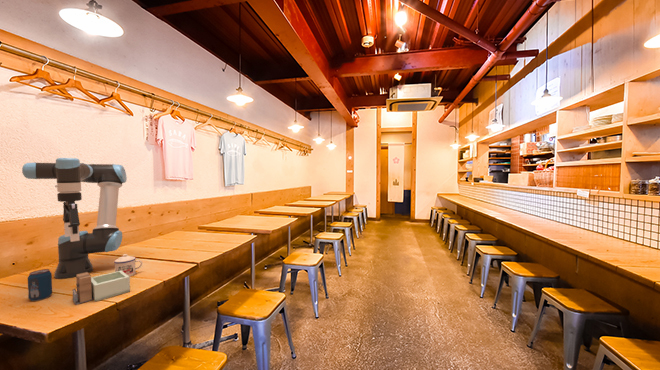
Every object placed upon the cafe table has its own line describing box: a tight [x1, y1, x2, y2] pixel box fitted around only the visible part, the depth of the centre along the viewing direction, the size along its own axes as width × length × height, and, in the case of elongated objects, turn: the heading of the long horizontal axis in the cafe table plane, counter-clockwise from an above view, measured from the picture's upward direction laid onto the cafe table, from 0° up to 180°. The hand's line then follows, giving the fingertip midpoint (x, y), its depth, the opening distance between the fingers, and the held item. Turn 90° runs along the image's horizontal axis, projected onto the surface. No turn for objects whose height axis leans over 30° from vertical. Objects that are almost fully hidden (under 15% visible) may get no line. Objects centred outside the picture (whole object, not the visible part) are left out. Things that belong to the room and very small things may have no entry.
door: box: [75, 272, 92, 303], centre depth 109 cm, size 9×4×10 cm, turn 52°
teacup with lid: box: [113, 253, 143, 278], centre depth 137 cm, size 12×9×12 cm
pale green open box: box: [91, 271, 131, 302], centre depth 116 cm, size 14×12×7 cm
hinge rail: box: [71, 288, 94, 306], centre depth 109 cm, size 8×6×5 cm
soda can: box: [27, 268, 53, 302], centre depth 111 cm, size 7×7×12 cm
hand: (72, 238), depth 113 cm, fingers open, 13 cm apart
